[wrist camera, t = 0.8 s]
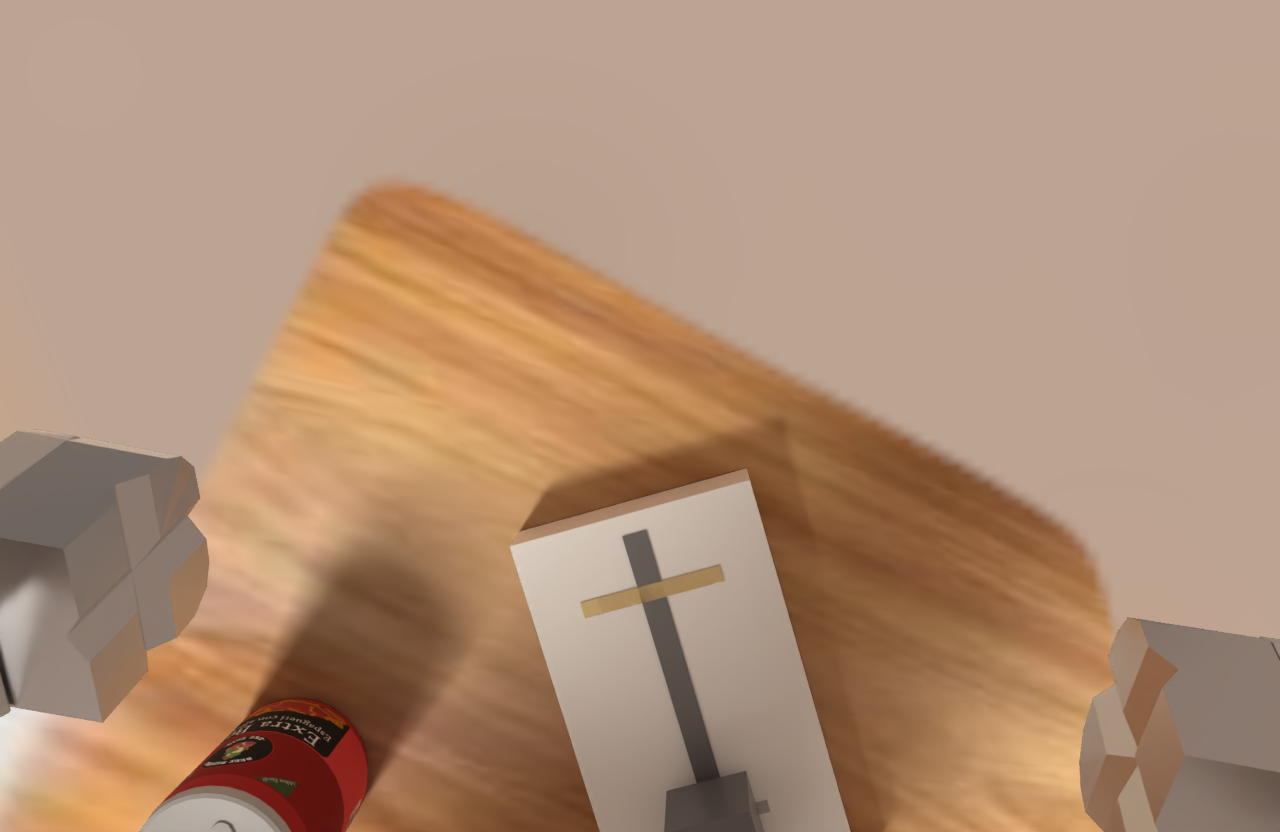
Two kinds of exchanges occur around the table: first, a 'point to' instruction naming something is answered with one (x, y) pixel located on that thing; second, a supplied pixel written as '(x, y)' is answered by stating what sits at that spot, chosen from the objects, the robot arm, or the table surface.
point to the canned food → (274, 776)
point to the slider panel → (677, 657)
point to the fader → (713, 806)
